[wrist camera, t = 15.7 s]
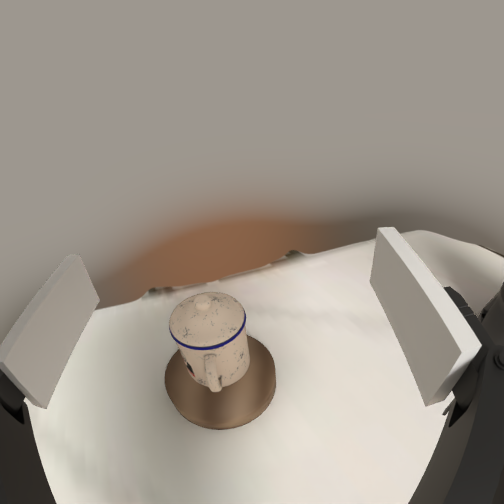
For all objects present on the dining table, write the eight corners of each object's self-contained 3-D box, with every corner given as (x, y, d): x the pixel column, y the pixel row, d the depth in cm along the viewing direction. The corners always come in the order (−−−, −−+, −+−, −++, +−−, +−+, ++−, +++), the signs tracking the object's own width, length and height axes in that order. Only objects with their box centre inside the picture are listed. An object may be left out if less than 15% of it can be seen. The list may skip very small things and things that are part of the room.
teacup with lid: (187, 342, 41) (166, 280, 35) (247, 334, 41) (238, 270, 35) (185, 412, 30) (153, 355, 24) (259, 404, 31) (251, 344, 25)
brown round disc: (273, 341, 43) (272, 328, 42) (278, 427, 31) (278, 418, 29) (180, 345, 44) (175, 332, 43) (163, 426, 31) (155, 416, 30)
